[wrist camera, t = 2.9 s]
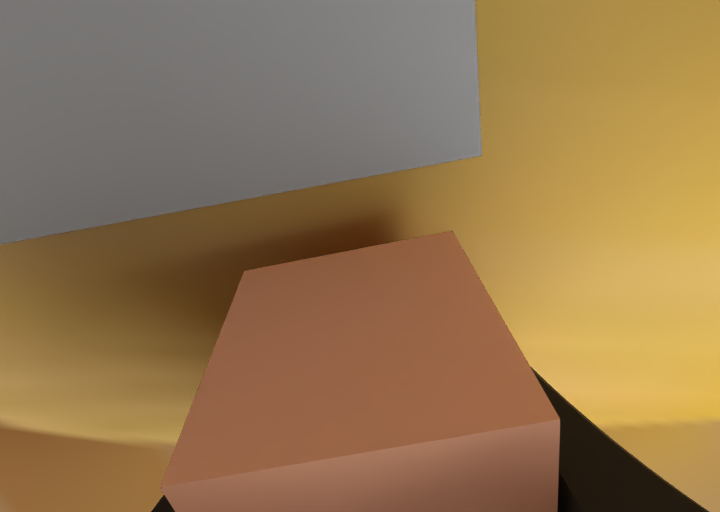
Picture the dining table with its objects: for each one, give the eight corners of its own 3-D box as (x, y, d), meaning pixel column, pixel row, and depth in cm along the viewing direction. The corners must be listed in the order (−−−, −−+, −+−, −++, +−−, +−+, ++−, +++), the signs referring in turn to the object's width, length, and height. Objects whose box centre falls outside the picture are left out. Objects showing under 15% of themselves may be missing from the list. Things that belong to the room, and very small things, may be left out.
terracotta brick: (452, 230, 9) (560, 419, 5) (472, 427, 12) (552, 664, 7) (244, 270, 9) (159, 487, 5) (311, 455, 12) (296, 701, 8)
